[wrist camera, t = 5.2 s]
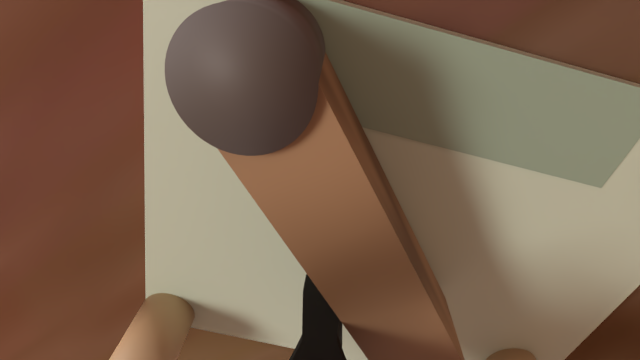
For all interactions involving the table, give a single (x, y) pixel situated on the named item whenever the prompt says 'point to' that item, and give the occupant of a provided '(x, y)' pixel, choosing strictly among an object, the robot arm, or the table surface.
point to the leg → (309, 169)
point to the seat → (410, 192)
